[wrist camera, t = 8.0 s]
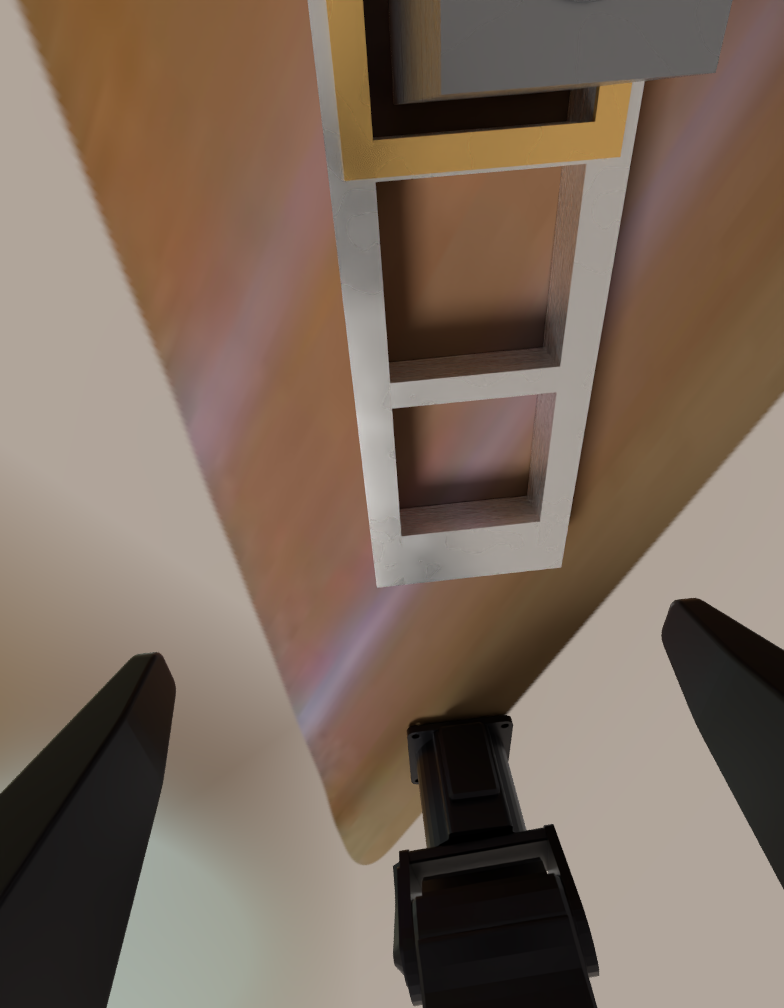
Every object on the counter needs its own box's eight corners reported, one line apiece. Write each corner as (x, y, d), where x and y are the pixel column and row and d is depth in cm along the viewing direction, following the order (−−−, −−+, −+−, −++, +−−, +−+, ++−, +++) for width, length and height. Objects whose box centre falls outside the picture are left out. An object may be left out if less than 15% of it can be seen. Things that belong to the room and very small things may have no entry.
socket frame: (547, 540, 24) (562, 570, 23) (374, 559, 24) (377, 591, 22) (688, -430, 10) (756, -536, 8) (261, -408, 10) (247, -513, 8)
